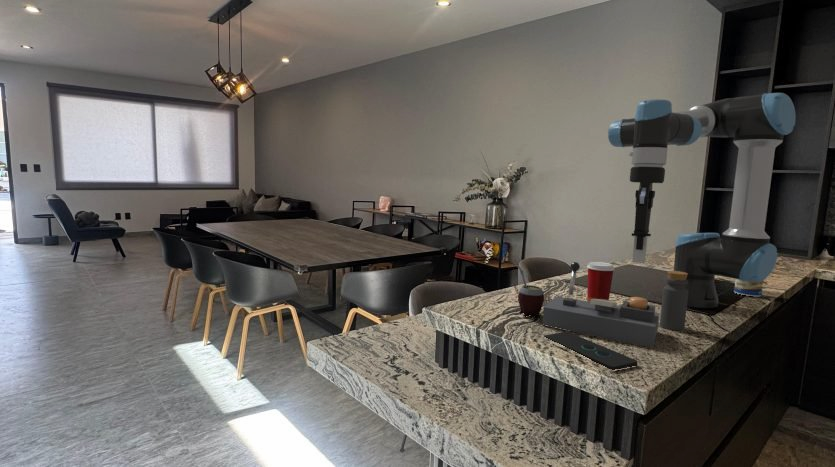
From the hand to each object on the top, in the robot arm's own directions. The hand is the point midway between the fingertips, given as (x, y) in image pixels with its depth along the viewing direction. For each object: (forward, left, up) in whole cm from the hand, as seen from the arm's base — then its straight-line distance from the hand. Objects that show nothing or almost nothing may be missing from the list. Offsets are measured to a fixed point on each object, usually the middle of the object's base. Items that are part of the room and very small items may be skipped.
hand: (638, 262), depth 114 cm
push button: (0, +1, -12) cm, 12 cm away
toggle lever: (0, -16, -11) cm, 19 cm away
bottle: (-14, +8, -19) cm, 25 cm away
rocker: (0, -7, -12) cm, 14 cm away
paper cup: (-19, -12, -19) cm, 29 cm away
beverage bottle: (-76, +30, -19) cm, 84 cm away
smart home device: (+20, -7, -19) cm, 29 cm away
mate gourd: (0, -27, -19) cm, 33 cm away
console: (0, -8, -19) cm, 20 cm away
